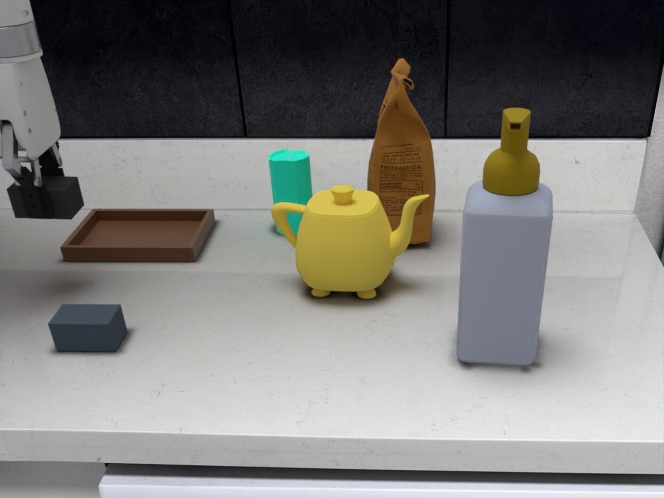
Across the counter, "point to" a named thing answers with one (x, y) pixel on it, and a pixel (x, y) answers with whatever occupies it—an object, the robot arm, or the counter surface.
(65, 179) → the black rectangular block
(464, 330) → the soap bottle
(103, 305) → the blue gray block
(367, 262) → the teapot
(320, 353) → the counter surface
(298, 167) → the candle
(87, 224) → the brown shallow rectangular tray
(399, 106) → the coffee package
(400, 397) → the counter surface
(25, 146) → the robot arm
